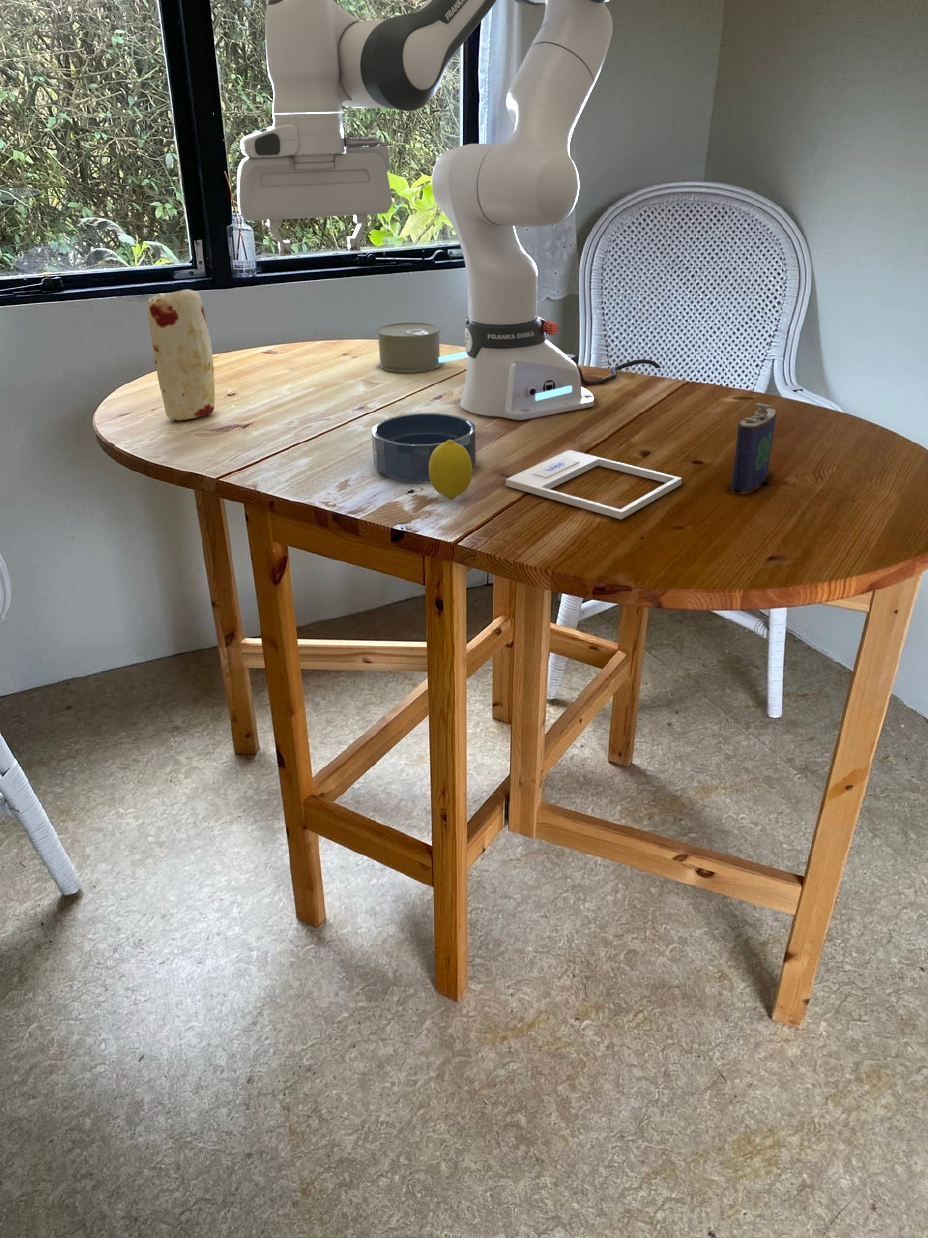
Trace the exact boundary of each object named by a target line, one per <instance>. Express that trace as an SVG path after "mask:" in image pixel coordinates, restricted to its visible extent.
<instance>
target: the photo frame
mask: <svg viewBox="0 0 928 1238" xmlns="http://www.w3.org/2000/svg"><path fill="white" fill-rule="evenodd" d="M598 466H599V467H604V468H607V469H611V470H615V471H618V472H622V473H626V474H631V475H634V476H638V477H641V478H646V479H650V480H654V481H658V482H662V483H664V484H662V485H660V486H658V487H657V488H655V489H654V490H652V491H649V492H648V493H647V494H644V495H642V496H641V497H639V498H638V499H636V500H634V501H632V502H629V504H626V505H625V506H623V507H621V508H616V507H613V506H610V505H607V504H602V503H600V502H597V501H596V502H595V501H592V500H588V499H584V498H581V497H578V496H574V495H571V494H568V493H563V492H560V491H556V490H554V489H553V488H556V487H557V486H559V485H561V484H564V483H565V482H568V481H569V480H571V479H573V478H576V477H578V476H579V475H582V474H584V473H586V472H588V471H589V470H592V469H593V468H596V467H598ZM682 480H683V478H682V477H679V476H675V475H672V474H667V473H664V472H659V471H656V470H652V469H648V468H643V467H639V466H635V465H631V464H627V463H623V462H619V461H615V460H611V459H607V458H603V457H600V456H596V455H592V454H588V453H584V452H580V451H576V450H571V449H569V450H568V449H567V450H566V451H564V452H562V453H559V454H557V455H555V456H553V457H551V458H549V459H546V460H543V461H542V462H540V463H538V464H536V465H532V466H531V467H529V468H527V469H525V470H522V471H521V472H518V473H516V474H513V475H512V476H510V477H507V478H505V486H506V487H509V488H512V489H514V490H515V489H516V490H519V491H522V492H526V493H528V494H529V493H530V494H532V495H536V496H540V497H543V498H546V499H549V500H554V501H557V502H560V503H562V504H563V503H564V504H567V505H570V506H573V507H576V508H577V507H578V508H581V509H585V510H588V511H590V512H594V513H598V514H601V515H605V516H609V517H612V518H615V519H618V520H623V519H625V518H626V517H628V516H630V515H632V514H633V513H635V512H637V511H638V510H640V509H642V508H643V507H645V506H647V505H649V504H651V503H652V502H654V501H656V500H657V499H659V498H661V497H662V496H665V495H666V494H668V493H669V492H672V491H673V490H674V489H676V488H678V487H679V486H681V485H682Z"/></svg>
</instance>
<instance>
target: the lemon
mask: <svg viewBox="0 0 928 1238" xmlns="http://www.w3.org/2000/svg"><path fill="white" fill-rule="evenodd" d="M429 477H430V481H429V482H430V484H431V486H432V488H433V490H435V491H436V492H437V494H440V495H441V496H443V497H445V498H446V499H448V500H449V501H453V500H454V499H455V498H457V497H458V496H460V495H462V494H463V493H465V492H466V491H467V490H468V488H469V486H470V485H471V482H472V478H473V467H472V463H471V459H470V456H469V454H468V452H467V450H466V449H465V448H464V447H463V446H462V445H460V444H458V443H455V442H453V440H447V441H446V442H445V443H442V444H440V445H439V446H438V447H436V448H435V450H434V451H433V453H432V455H431V458H430V462H429Z"/></svg>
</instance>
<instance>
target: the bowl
mask: <svg viewBox="0 0 928 1238" xmlns="http://www.w3.org/2000/svg"><path fill="white" fill-rule="evenodd" d="M447 440H453V442H455V443H458V444H460V445H462V446H463V447H464V448H465V449H466V450H467V452H468V454H469V456H470V459H471V463H472V468H474V466H475V465H476V425H475V424H474V423H473V422H472V421H471V420H469V419H467V418H465V417H462V416H458V415H453V414H449V413H439V412H437V413H436V412H420V413H418V412H417V413H408V414H402V415H398V416H393V417H389V418H387V419H384V420H382V421H379V422H377V423H376V424H375V425H374V426H373V427H372V429H371V442H372V443H371V444H372V454H373V456H372V457H373V466H374V467H375V470H376V471H377V472H378V473H381V474H382V475H384V476H387V477H390V478H393V479H398V480H402V481H403V480H404V481H409V482H431V481H430V477H429V462H430V458H431V455H432V453H433V451H434V450H435V448H436V447H438V446H439V445H440V444H442V443H445V442H446V441H447Z"/></svg>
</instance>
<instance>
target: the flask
mask: <svg viewBox="0 0 928 1238" xmlns="http://www.w3.org/2000/svg"><path fill="white" fill-rule="evenodd" d="M754 405H755V406H756V407H757V409H756V410H755V411H754V414H753V416H752V415H751V416H750V417H747V416H746V417H745V418H744V419H743V420H741V421H739V423H738V427H737V433H736V434H737V436H736V442H735V443H736V445H735V454H734V460H733V461H734V462H733V471H732V479H731V486H730V491H731V492H732V493H734V494H739V495H741V494H742V495H745V494H748V493H751V492H753V491H754V490H757V489H758V488H760V486H762V484H763V483H764V482H765V480H767V478H768V475H769V466H770V460H771V452H772V447H773V440H774V433H775V427H776V426H775V425H776V422H777V421H776V420H777V410H775V409H773V408H771V407H772V404H764V403H761V402H756V403H754Z"/></svg>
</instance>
